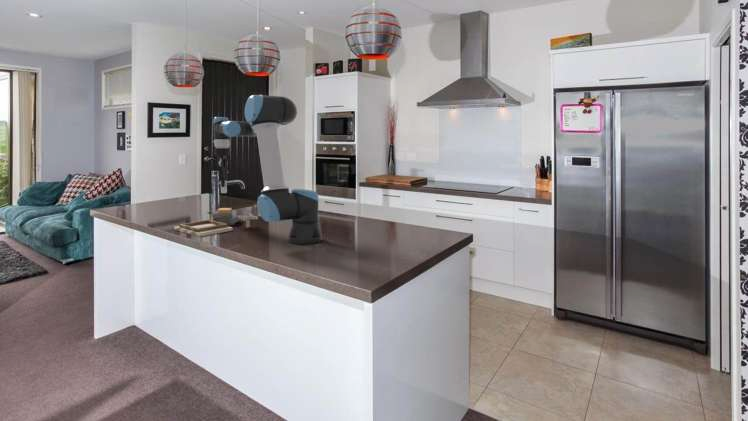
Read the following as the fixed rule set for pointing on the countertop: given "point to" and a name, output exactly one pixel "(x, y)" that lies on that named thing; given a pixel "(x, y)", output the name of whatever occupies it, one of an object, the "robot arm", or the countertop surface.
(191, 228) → the pallet
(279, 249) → the countertop surface
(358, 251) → the countertop surface
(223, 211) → the button
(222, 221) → the button housing
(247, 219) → the pipe connector
